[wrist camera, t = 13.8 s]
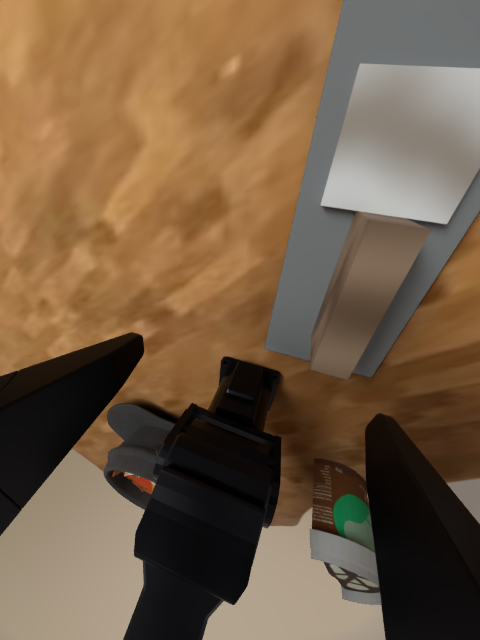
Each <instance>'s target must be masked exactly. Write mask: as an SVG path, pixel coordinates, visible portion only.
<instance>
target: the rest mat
mask: <svg viewBox="0 0 480 640" xmlns="http://www.w3.org/2000/svg"><path fill="white" fill-rule="evenodd" d="M360 64H384V65H409V66H433V67H457V68H480V0H343V4H342V9H341V13H340V18H339V22H338V26H337V31H336V35H335V40H334V44H333V48H332V53H331V57H330V62H329V66H328V70H327V75H326V79H325V84H324V88H323V92H322V97H321V101H320V106H319V110H318V114H317V119H316V123H315V128H314V132H313V136H312V141H311V145H310V149H309V154H308V158H307V163H306V167H305V171H304V176H303V180H302V185H301V189H300V193H299V198H298V202H297V207H296V211H295V215H294V220H293V224H292V229H291V233H290V237H289V242H288V246H287V251H286V255H285V259H284V264H283V268H282V273H281V277H280V281H279V286H278V290H277V295H276V299H275V303H274V308H273V312H272V316H271V321H270V325H269V330H268V334H267V338H266V343H265V347H264V349H267V350H270V351H274V352H278V353H282V354H285V355H289V356H293V357H296V358H300V359H304V360H307V361H310V355H311V333H312V330H313V328H314V325H315V322H316V319H317V316H318V314H319V311H320V308H321V305H322V303H323V300H324V297H325V294H326V291H327V289H328V286H329V283H330V280H331V278H332V275H333V272H334V269H335V266H336V264H337V261H338V258H339V255H340V253H341V250H342V247H343V244H344V241H345V239H346V236H347V233H348V230H349V228H350V225H351V222H352V219H353V216H354V214H355V211H354V210H347V209H341V208H334V207H327V206H321V201H322V197H323V193H324V190H325V186H326V183H327V179H328V175H329V172H330V168H331V164H332V161H333V157H334V154H335V150H336V146H337V143H338V139H339V135H340V132H341V128H342V125H343V121H344V117H345V114H346V110H347V106H348V103H349V99H350V96H351V92H352V88H353V85H354V81H355V78H356V74H357V70H358V68H359V65H360ZM479 211H480V169H479V170H478V172H477V174H476V175H475V177H474V179H473V181H472V182H471V184H470V186H469V187H468V189H467V191H466V192H465V194H464V196H463V198H462V199H461V201H460V203H459V204H458V206H457V208H456V210H455V211H454V213H453V215H452V216H451V218H450V220H449V221H448V223H447V224H441V223H435V222H428V221H421V220H415V219H408V218H406V219H408V220H410V221H412V222H415V223H417V224H419V225H421V226H423V227H426V228H428V229H430V230H431V232H430V234H429V236H428V237H427V239H426V241H425V243H424V244H423V246H422V248H421V250H420V252H419V253H418V255H417V257H416V259H415V261H414V262H413V264H412V266H411V268H410V270H409V271H408V273H407V275H406V277H405V279H404V280H403V282H402V284H401V286H400V287H399V289H398V291H397V293H396V295H395V296H394V298H393V300H392V302H391V304H390V305H389V307H388V309H387V311H386V313H385V314H384V316H383V318H382V320H381V322H380V323H379V325H378V327H377V329H376V330H375V332H374V334H373V336H372V338H371V339H370V341H369V343H368V345H367V347H366V348H365V350H364V352H363V354H362V356H361V357H360V359H359V361H358V363H357V365H356V366H355V368H354V370H353V372H352V373H355V374H359V375H363V376H366V377H370V378H371V377H372V376H373V374H374V373H375V371H376V370H377V368H378V367H379V365H380V364H381V362H382V361H383V359H384V357H385V356H386V354H387V353H388V351H389V350H390V348H391V347H392V345H393V344H394V342H395V340H396V339H397V337H398V336H399V334H400V333H401V331H402V330H403V328H404V327H405V325H406V324H407V322H408V320H409V319H410V317H411V316H412V314H413V313H414V311H415V310H416V308H417V307H418V305H419V303H420V302H421V300H422V299H423V297H424V296H425V294H426V293H427V291H428V290H429V288H430V287H431V285H432V283H433V282H434V280H435V279H436V277H437V276H438V274H439V273H440V271H441V270H442V268H443V266H444V265H445V263H446V262H447V260H448V259H449V257H450V256H451V254H452V253H453V251H454V250H455V248H456V246H457V245H458V243H459V242H460V240H461V239H462V237H463V236H464V234H465V233H466V231H467V229H468V228H469V226H470V225H471V223H472V222H473V220H474V219H475V217H476V216H477V214H478V213H479Z"/></svg>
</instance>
